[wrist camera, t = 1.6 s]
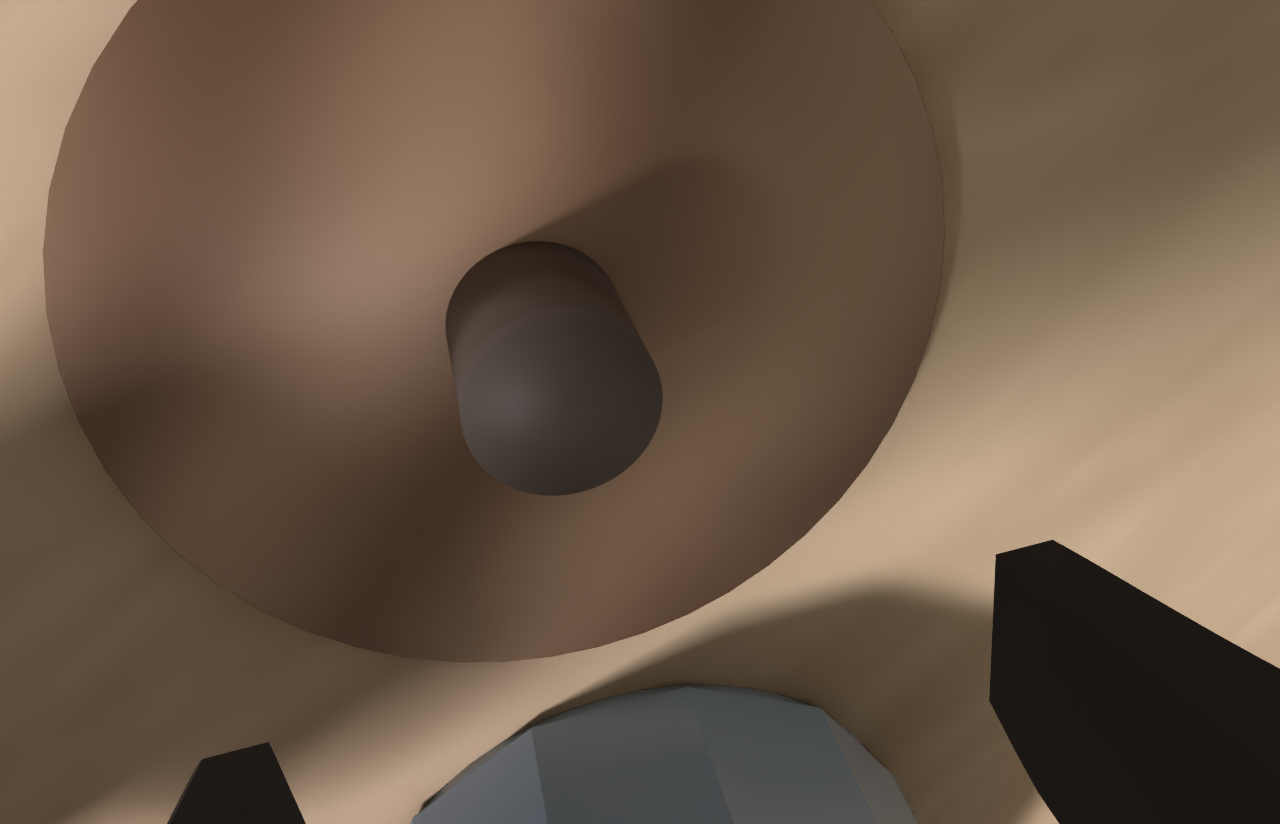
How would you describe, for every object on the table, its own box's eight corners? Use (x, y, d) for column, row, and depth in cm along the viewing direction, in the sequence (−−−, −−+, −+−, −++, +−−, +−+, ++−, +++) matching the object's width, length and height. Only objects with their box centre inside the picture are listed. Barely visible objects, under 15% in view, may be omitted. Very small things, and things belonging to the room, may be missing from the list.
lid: (-7, 558, 20) (-81, 721, 16) (165, -385, 14) (105, -439, 10) (723, 674, 25) (781, 813, 22) (1066, 40, 19) (1218, 94, 16)
